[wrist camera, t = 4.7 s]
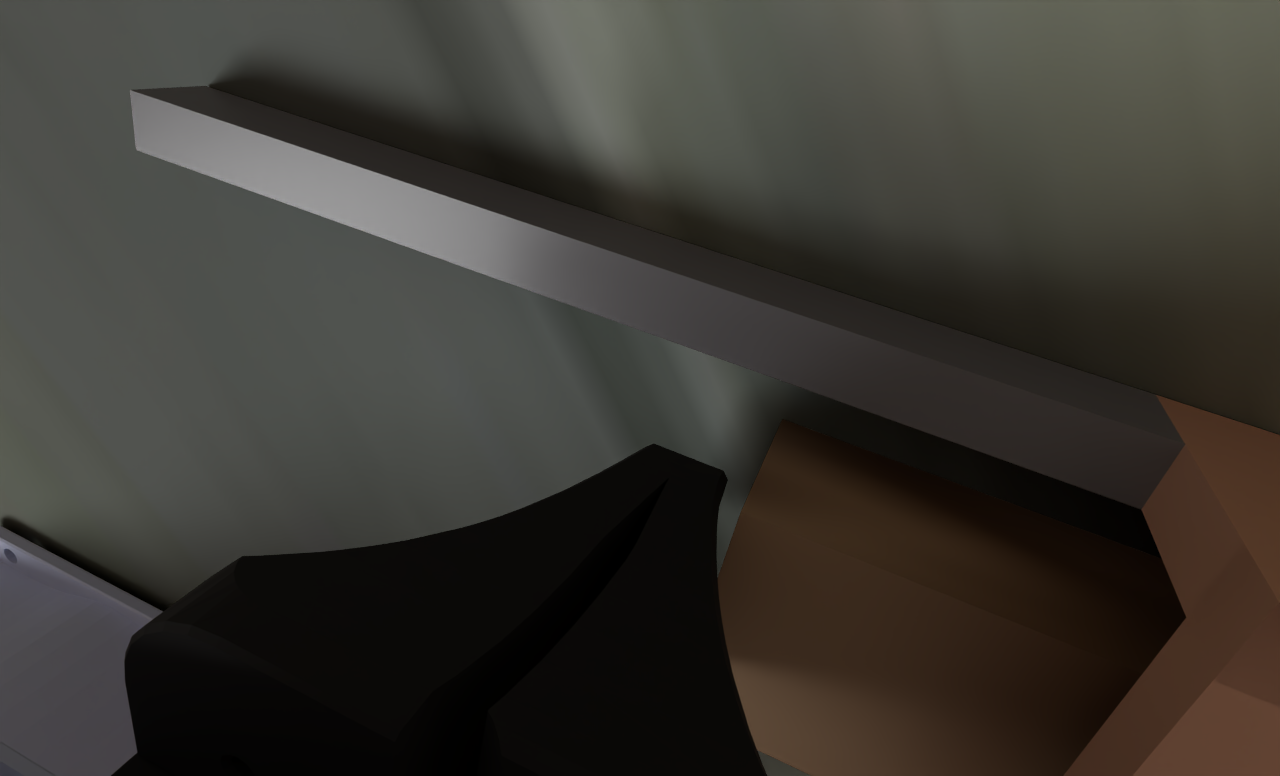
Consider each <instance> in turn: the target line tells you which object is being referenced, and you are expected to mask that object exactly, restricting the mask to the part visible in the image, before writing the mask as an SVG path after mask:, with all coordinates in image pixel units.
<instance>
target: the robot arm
mask: <svg viewBox="0 0 1280 776" xmlns="http://www.w3.org/2000/svg"><path fill="white" fill-rule="evenodd" d="M727 481H728V479H727V477H726V475H725V473H724V471H722V470H720V469H717V468H715V467H712V466H710V465H707V464H704V463H702V462H699V461H697V460H694V459H692V458H689V457H687V456H684V455H681V454H679V453H676V452H674V451H671V450H669V449H666V448H664V447H661V446H658V445H656V444H652V445H649V446H647V447H645V448H643V449H641V450H639V451H638V452H636V453H634V454H632V455H631V456H629V457H627V458H625V459H624V460H622V461H620V462H618V463H616V464H615V465H613V466H611V467H609V468H607V469H605V470H603V471H602V472H600V473H598V474H596V475H594V476H592V477H590V478H588V479H586V480H584V481H582V482H580V483H578V484H576V485H574V486H572V487H570V488H568V489H566V490H564V491H561V492H559V493H557V494H554V495H552V496H550V497H547V498H545V499H543V500H540V501H538V502H536V503H533V504H531V505H529V506H526V507H524V508H521V509H519V510H516V511H513V512H511V513H508V514H505V515H503V516H500V517H497V518H493V519H490V520H487V521H484V522H480V523H477V524H474V525H470V526H467V527H463V528H459V529H455V530H450V531H446V532H441V533H437V534H433V535H428V536H424V537H419V538H415V539H410V540H405V541H400V542H394V543H388V544H382V545H375V546H368V547H361V548H353V549H345V550H336V551H326V552H314V553H297V554H281V555H264V556H242V557H240V558H239V559H237V560H236V561H234V562H233V563H231V564H230V565H228V566H227V567H225V568H224V569H222V570H220V571H219V572H217V573H216V574H214V575H213V576H211V577H210V578H209V579H207V580H206V581H204V582H203V583H202V584H200V585H199V586H198V587H196V588H195V589H194V590H192V591H191V592H189V593H188V594H187V595H185V596H184V597H183V598H181V599H180V600H179V601H177V602H176V603H174V604H173V605H172V606H170V607H169V608H168V609H166V610H165V611H164V612H163V611H161V610H159V609H157V608H156V607H154V606H152V605H150V604H148V603H146V602H144V601H142V600H140V599H139V598H137V597H135V596H133V595H131V594H129V593H127V592H125V591H123V590H121V589H120V588H118V587H116V586H114V585H112V584H110V583H108V582H106V581H104V580H103V579H101V578H99V577H97V576H95V575H93V574H91V573H89V572H87V571H85V570H84V569H82V568H80V567H78V566H76V565H74V564H72V563H70V562H68V561H67V560H65V559H63V558H61V557H59V556H57V555H55V554H53V553H51V552H49V551H48V550H46V549H44V548H42V547H40V546H38V545H36V544H34V543H32V542H31V541H29V540H27V539H25V538H23V537H21V536H19V535H17V534H15V533H13V532H12V531H10V530H8V529H6V528H4V527H2V526H0V776H767V774H766V772H765V769H764V767H763V765H762V762H761V759H760V756H759V754H758V751H757V748H756V746H755V743H754V740H753V738H752V735H751V732H750V729H749V726H748V723H747V720H746V716H745V713H744V710H743V706H742V703H741V700H740V696H739V693H738V690H737V686H736V683H735V680H734V676H733V672H732V668H731V663H730V659H729V654H728V650H727V646H726V640H725V635H724V629H723V623H722V617H721V610H720V601H719V591H718V579H717V561H716V547H717V519H718V511H719V505H720V502H721V499H722V496H723V493H724V490H725V487H726V484H727Z"/></svg>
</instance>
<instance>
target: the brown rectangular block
mask: <svg viewBox="0 0 1280 776" xmlns="http://www.w3.org/2000/svg"><path fill="white" fill-rule="evenodd" d="M718 591H719V601H720V610H721V617H722V623H723V629H724V635H725V640H726V646H727V650H728V654H729V659H730V663H731V668H732V672H733V676H734V680H735V683H736V686H737V690H738V693H739V696H740V700H741V703H742V706H743V710H744V713H745V716H746V720H747V723H748V726H749V729H750V732H751V735H752V738H753V740H754V743H755V746H756V748H757V750H758V751H760V752H763V753H765V754H767V755H769V756H771V757H773V758H775V759H777V760H779V761H782V762H784V763H786V764H788V765H790V766H792V767H794V768H796V769H798V770H801V771H803V772H805V773H807V774H809V775H811V776H1064V774H1065V773H1066V772H1067V770H1068V769H1069V768H1070V767H1071V765H1072V764H1073V763H1074V761H1075V760H1076V759H1077V758H1078V756H1079V755H1080V754H1081V752H1082V751H1083V750H1084V749H1085V747H1086V746H1087V745H1088V743H1089V742H1090V741H1091V740H1092V738H1093V737H1094V736H1095V734H1096V733H1097V732H1098V731H1099V729H1100V728H1101V727H1102V725H1103V724H1104V723H1105V722H1106V720H1107V719H1108V718H1109V716H1110V715H1111V714H1112V713H1113V711H1114V710H1115V709H1116V707H1117V706H1118V705H1119V704H1120V702H1121V701H1122V700H1123V698H1124V697H1125V696H1126V695H1127V693H1128V692H1129V691H1130V689H1131V688H1132V687H1133V685H1134V684H1135V683H1136V682H1137V680H1138V679H1139V678H1140V676H1141V675H1142V674H1143V673H1144V671H1145V670H1146V669H1147V667H1148V666H1149V665H1150V664H1151V662H1152V661H1153V660H1154V658H1155V657H1156V656H1157V655H1158V653H1159V652H1160V651H1161V649H1162V648H1163V647H1164V646H1165V644H1166V643H1167V642H1168V640H1169V639H1170V638H1171V637H1172V635H1173V634H1174V633H1175V631H1176V630H1177V629H1178V628H1179V626H1180V625H1181V624H1182V622H1183V621H1184V620H1185V619H1186V615H1185V613H1184V611H1183V608H1182V606H1181V603H1180V601H1179V599H1178V596H1177V594H1176V591H1175V589H1174V587H1173V584H1172V582H1171V579H1170V577H1169V575H1168V572H1167V570H1166V567H1165V565H1164V563H1163V560H1162V559H1161V558H1158V557H1156V556H1153V555H1150V554H1147V553H1145V552H1142V551H1139V550H1137V549H1134V548H1131V547H1129V546H1126V545H1123V544H1120V543H1118V542H1115V541H1112V540H1110V539H1107V538H1104V537H1101V536H1099V535H1096V534H1093V533H1091V532H1088V531H1085V530H1082V529H1080V528H1077V527H1074V526H1072V525H1069V524H1066V523H1063V522H1061V521H1058V520H1055V519H1053V518H1050V517H1047V516H1044V515H1042V514H1039V513H1036V512H1034V511H1031V510H1028V509H1025V508H1023V507H1020V506H1017V505H1015V504H1012V503H1009V502H1006V501H1004V500H1001V499H998V498H996V497H993V496H990V495H987V494H985V493H982V492H979V491H977V490H974V489H971V488H968V487H966V486H963V485H960V484H958V483H955V482H952V481H949V480H947V479H944V478H941V477H939V476H936V475H933V474H930V473H928V472H925V471H922V470H920V469H917V468H914V467H911V466H909V465H906V464H903V463H901V462H898V461H895V460H892V459H890V458H887V457H884V456H882V455H879V454H876V453H873V452H871V451H868V450H865V449H863V448H860V447H857V446H854V445H852V444H849V443H846V442H844V441H841V440H838V439H835V438H833V437H830V436H827V435H825V434H822V433H819V432H817V431H814V430H811V429H808V428H806V427H803V426H800V425H798V424H795V423H792V422H789V421H787V420H784V419H782V421H781V423H780V426H779V428H778V430H777V432H776V434H775V437H774V439H773V441H772V443H771V446H770V448H769V450H768V452H767V455H766V457H765V459H764V461H763V464H762V466H761V468H760V470H759V472H758V475H757V477H756V479H755V481H754V484H753V486H752V488H751V490H750V493H749V495H748V497H747V499H746V502H745V504H744V506H743V508H742V511H741V513H740V516H739V519H738V522H737V524H736V527H735V530H734V533H733V536H732V539H731V542H730V544H729V547H728V550H727V553H726V556H725V559H724V562H723V565H722V567H721V570H720V573H719V576H718Z"/></svg>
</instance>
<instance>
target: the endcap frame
mask: <svg viewBox="0 0 1280 776" xmlns="http://www.w3.org/2000/svg"><path fill="white" fill-rule="evenodd" d="M130 96H131V105H132V114H133V124H134V133H135V142H136V150H138V151H141V152H143V153H146V154H149V155H152V156H155V157H157V158H160V159H163V160H166V161H169V162H171V163H174V164H177V165H180V166H183V167H185V168H188V169H191V170H194V171H197V172H199V173H202V174H205V175H208V176H211V177H213V178H216V179H219V180H222V181H225V182H227V183H230V184H233V185H236V186H239V187H241V188H244V189H247V190H250V191H253V192H255V193H258V194H261V195H264V196H267V197H269V198H272V199H275V200H278V201H280V202H283V203H286V204H289V205H292V206H294V207H297V208H300V209H303V210H306V211H308V212H311V213H314V214H317V215H320V216H322V217H325V218H328V219H331V220H334V221H336V222H339V223H342V224H345V225H348V226H350V227H353V228H356V229H359V230H362V231H364V232H367V233H370V234H373V235H376V236H378V237H381V238H384V239H387V240H390V241H392V242H395V243H398V244H401V245H403V246H406V247H409V248H412V249H415V250H417V251H420V252H423V253H426V254H429V255H431V256H434V257H437V258H440V259H443V260H445V261H448V262H451V263H454V264H457V265H459V266H462V267H465V268H468V269H471V270H473V271H476V272H479V273H482V274H485V275H487V276H490V277H493V278H496V279H499V280H501V281H504V282H507V283H510V284H513V285H515V286H518V287H521V288H524V289H526V290H529V291H532V292H535V293H538V294H540V295H543V296H546V297H549V298H552V299H554V300H557V301H560V302H563V303H566V304H568V305H571V306H574V307H577V308H580V309H582V310H585V311H588V312H591V313H594V314H596V315H599V316H602V317H605V318H608V319H610V320H613V321H616V322H619V323H622V324H624V325H627V326H630V327H633V328H636V329H638V330H641V331H644V332H647V333H650V334H652V335H655V336H658V337H661V338H663V339H666V340H669V341H672V342H675V343H677V344H680V345H683V346H686V347H689V348H691V349H694V350H697V351H700V352H703V353H705V354H708V355H711V356H714V357H717V358H719V359H722V360H725V361H728V362H731V363H733V364H736V365H739V366H742V367H745V368H747V369H750V370H753V371H756V372H759V373H761V374H764V375H767V376H770V377H773V378H775V379H778V380H781V381H784V382H786V383H789V384H792V385H795V386H798V387H800V388H803V389H806V390H809V391H812V392H814V393H817V394H820V395H823V396H826V397H828V398H831V399H834V400H837V401H840V402H842V403H845V404H848V405H851V406H854V407H856V408H859V409H862V410H865V411H868V412H870V413H873V414H876V415H879V416H882V417H884V418H887V419H890V420H893V421H896V422H898V423H901V424H904V425H907V426H909V427H912V428H915V429H918V430H921V431H923V432H926V433H929V434H932V435H935V436H937V437H940V438H943V439H946V440H949V441H951V442H954V443H957V444H960V445H963V446H965V447H968V448H971V449H974V450H977V451H979V452H982V453H985V454H988V455H991V456H993V457H996V458H999V459H1002V460H1005V461H1007V462H1010V463H1013V464H1016V465H1019V466H1021V467H1024V468H1027V469H1030V470H1032V471H1035V472H1038V473H1041V474H1044V475H1046V476H1049V477H1052V478H1055V479H1058V480H1060V481H1063V482H1066V483H1069V484H1072V485H1074V486H1077V487H1080V488H1083V489H1086V490H1088V491H1091V492H1094V493H1097V494H1100V495H1102V496H1105V497H1108V498H1111V499H1114V500H1116V501H1119V502H1122V503H1125V504H1128V505H1130V506H1133V507H1136V508H1139V509H1141V510H1142V512H1143V514H1144V517H1145V519H1146V522H1147V524H1148V527H1149V529H1150V531H1151V534H1152V536H1153V539H1154V541H1155V543H1156V546H1157V548H1158V551H1159V553H1160V555H1161V558H1162V560H1163V563H1164V565H1165V567H1166V570H1167V572H1168V575H1169V577H1170V579H1171V582H1172V584H1173V587H1174V589H1175V591H1176V594H1177V596H1178V599H1179V601H1180V603H1181V606H1182V608H1183V611H1184V613H1185V615H1186V619H1185V620H1184V621H1183V622H1182V624H1181V625H1180V626H1179V628H1178V629H1177V630H1176V631H1175V633H1174V634H1173V635H1172V637H1171V638H1170V639H1169V640H1168V642H1167V643H1166V644H1165V646H1164V647H1163V648H1162V649H1161V651H1160V652H1159V653H1158V655H1157V656H1156V657H1155V658H1154V660H1153V661H1152V662H1151V664H1150V665H1149V666H1148V667H1147V669H1146V670H1145V671H1144V673H1143V674H1142V675H1141V676H1140V678H1139V679H1138V680H1137V682H1136V683H1135V684H1134V685H1133V687H1132V688H1131V689H1130V691H1129V692H1128V693H1127V695H1126V696H1125V697H1124V698H1123V700H1122V701H1121V702H1120V704H1119V705H1118V706H1117V707H1116V709H1115V710H1114V711H1113V713H1112V714H1111V715H1110V716H1109V718H1108V719H1107V720H1106V722H1105V723H1104V724H1103V725H1102V727H1101V728H1100V729H1099V731H1098V732H1097V733H1096V734H1095V736H1094V737H1093V738H1092V740H1091V741H1090V742H1089V743H1088V745H1087V746H1086V747H1085V749H1084V750H1083V751H1082V752H1081V754H1080V755H1079V756H1078V758H1077V759H1076V760H1075V761H1074V763H1073V764H1072V765H1071V767H1070V768H1069V769H1068V770H1067V772H1066V773H1065V774H1064V776H1280V435H1278V434H1275V433H1272V432H1269V431H1266V430H1263V429H1260V428H1257V427H1254V426H1250V425H1247V424H1244V423H1241V422H1238V421H1235V420H1232V419H1229V418H1226V417H1223V416H1220V415H1217V414H1214V413H1210V412H1207V411H1204V410H1201V409H1198V408H1195V407H1192V406H1189V405H1186V404H1183V403H1180V402H1177V401H1174V400H1170V399H1167V398H1164V397H1161V396H1158V395H1155V394H1152V393H1149V392H1146V391H1143V390H1140V389H1137V388H1134V387H1130V386H1127V385H1124V384H1121V383H1118V382H1115V381H1112V380H1109V379H1106V378H1103V377H1100V376H1097V375H1094V374H1090V373H1087V372H1084V371H1081V370H1078V369H1075V368H1072V367H1069V366H1066V365H1063V364H1060V363H1057V362H1053V361H1050V360H1047V359H1044V358H1041V357H1038V356H1035V355H1032V354H1029V353H1026V352H1023V351H1020V350H1017V349H1013V348H1010V347H1007V346H1004V345H1001V344H998V343H995V342H992V341H989V340H986V339H983V338H980V337H977V336H973V335H970V334H967V333H964V332H961V331H958V330H955V329H952V328H949V327H946V326H943V325H940V324H937V323H933V322H930V321H927V320H924V319H921V318H918V317H915V316H912V315H909V314H906V313H903V312H900V311H897V310H893V309H890V308H887V307H884V306H881V305H878V304H875V303H872V302H869V301H866V300H863V299H860V298H856V297H853V296H850V295H847V294H844V293H841V292H838V291H835V290H832V289H829V288H826V287H823V286H820V285H816V284H813V283H810V282H807V281H804V280H801V279H798V278H795V277H792V276H789V275H786V274H783V273H780V272H776V271H773V270H770V269H767V268H764V267H761V266H758V265H755V264H752V263H749V262H746V261H743V260H740V259H736V258H733V257H730V256H727V255H724V254H721V253H718V252H715V251H712V250H709V249H706V248H703V247H700V246H696V245H693V244H690V243H687V242H684V241H681V240H678V239H675V238H672V237H669V236H666V235H663V234H659V233H656V232H653V231H650V230H647V229H644V228H641V227H638V226H635V225H632V224H629V223H626V222H623V221H619V220H616V219H613V218H610V217H607V216H604V215H601V214H598V213H595V212H592V211H589V210H586V209H583V208H579V207H576V206H573V205H570V204H567V203H564V202H561V201H558V200H555V199H552V198H549V197H546V196H543V195H539V194H536V193H533V192H530V191H527V190H524V189H521V188H518V187H515V186H512V185H509V184H506V183H503V182H499V181H496V180H493V179H490V178H487V177H484V176H481V175H478V174H475V173H472V172H469V171H466V170H462V169H459V168H456V167H453V166H450V165H447V164H444V163H441V162H438V161H435V160H432V159H429V158H426V157H422V156H419V155H416V154H413V153H410V152H407V151H404V150H401V149H398V148H395V147H392V146H389V145H386V144H382V143H379V142H376V141H373V140H370V139H367V138H364V137H361V136H358V135H355V134H352V133H349V132H346V131H342V130H339V129H336V128H333V127H330V126H327V125H324V124H321V123H318V122H315V121H312V120H309V119H306V118H302V117H299V116H296V115H293V114H290V113H287V112H284V111H281V110H278V109H275V108H272V107H269V106H265V105H262V104H259V103H256V102H253V101H250V100H247V99H244V98H241V97H238V96H235V95H232V94H229V93H225V92H222V91H219V90H216V89H213V88H210V87H207V86H195V87H176V88H157V89H138V90H130Z"/></svg>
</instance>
